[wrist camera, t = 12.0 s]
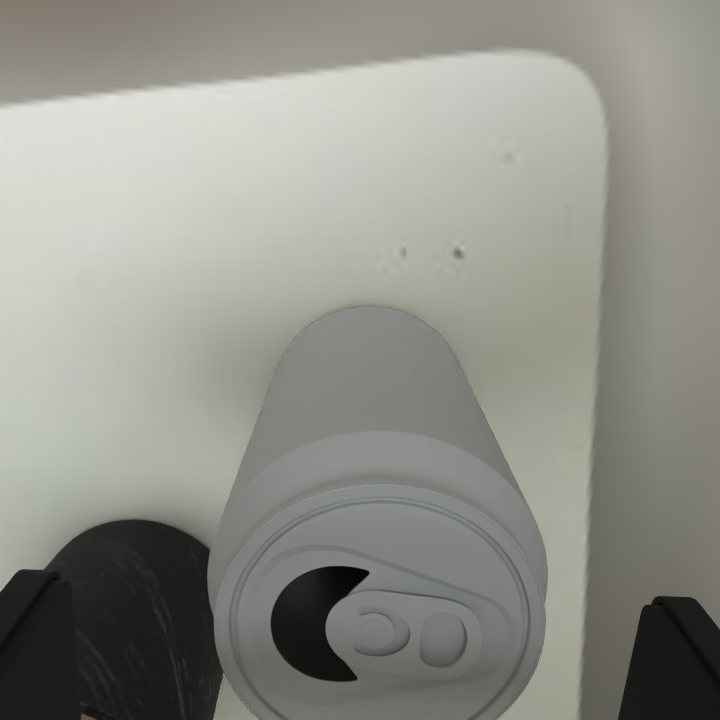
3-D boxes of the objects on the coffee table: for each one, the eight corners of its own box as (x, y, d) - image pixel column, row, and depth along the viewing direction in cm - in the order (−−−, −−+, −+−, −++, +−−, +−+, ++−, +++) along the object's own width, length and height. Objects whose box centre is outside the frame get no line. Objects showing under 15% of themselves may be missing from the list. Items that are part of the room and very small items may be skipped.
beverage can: (280, 291, 22) (190, 448, 10) (476, 310, 22) (604, 484, 10) (269, 469, 24) (184, 770, 12) (450, 484, 24) (535, 795, 12)
